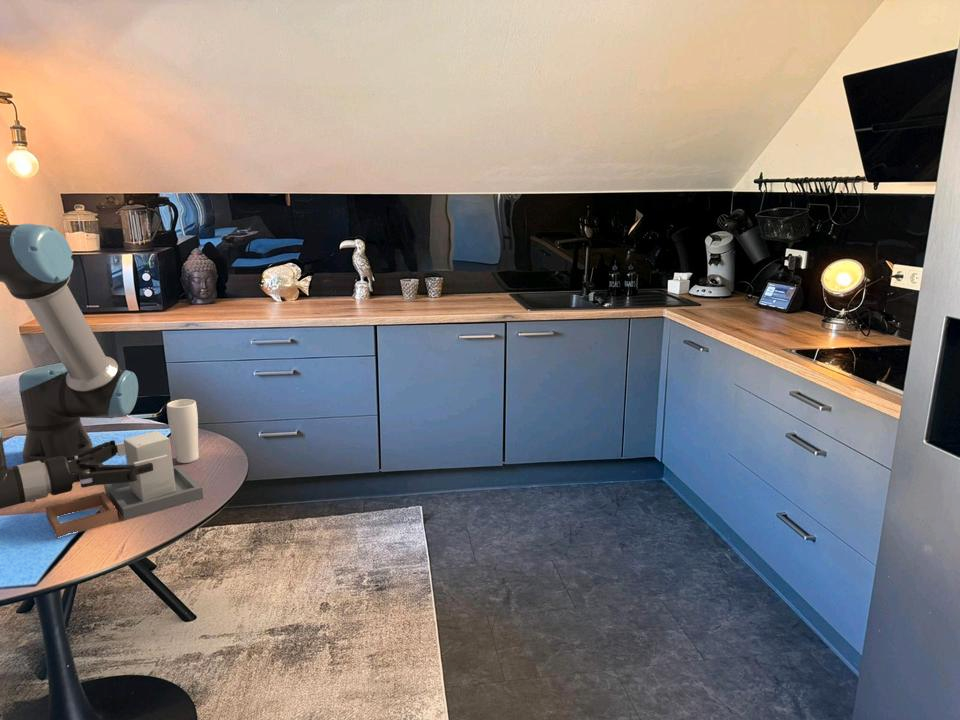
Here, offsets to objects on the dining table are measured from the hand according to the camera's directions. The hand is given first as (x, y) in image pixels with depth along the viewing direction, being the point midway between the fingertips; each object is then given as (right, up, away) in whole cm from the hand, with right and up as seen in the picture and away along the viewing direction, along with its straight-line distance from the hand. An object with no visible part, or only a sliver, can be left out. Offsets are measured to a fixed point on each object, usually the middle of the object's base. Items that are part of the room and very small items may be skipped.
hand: (158, 451), depth 150 cm
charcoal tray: (-2, -10, +1) cm, 10 cm away
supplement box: (-2, -9, +1) cm, 9 cm away
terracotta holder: (-11, -13, -9) cm, 19 cm away
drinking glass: (-2, -5, +21) cm, 22 cm away
